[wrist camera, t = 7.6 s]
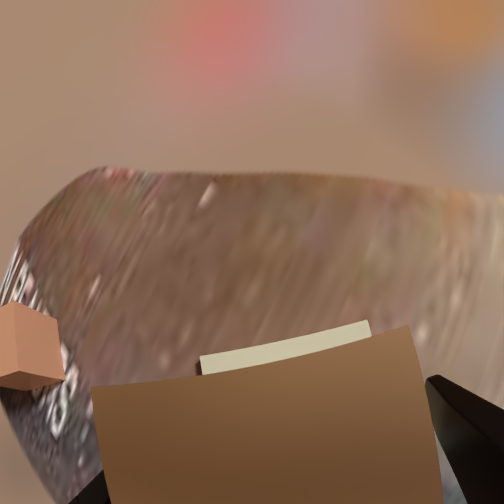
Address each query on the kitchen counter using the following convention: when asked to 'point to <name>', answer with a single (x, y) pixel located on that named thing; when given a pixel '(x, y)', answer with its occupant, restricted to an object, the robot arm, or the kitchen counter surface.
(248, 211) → the kitchen counter surface
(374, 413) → the brown block
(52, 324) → the terracotta block
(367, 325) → the pad
